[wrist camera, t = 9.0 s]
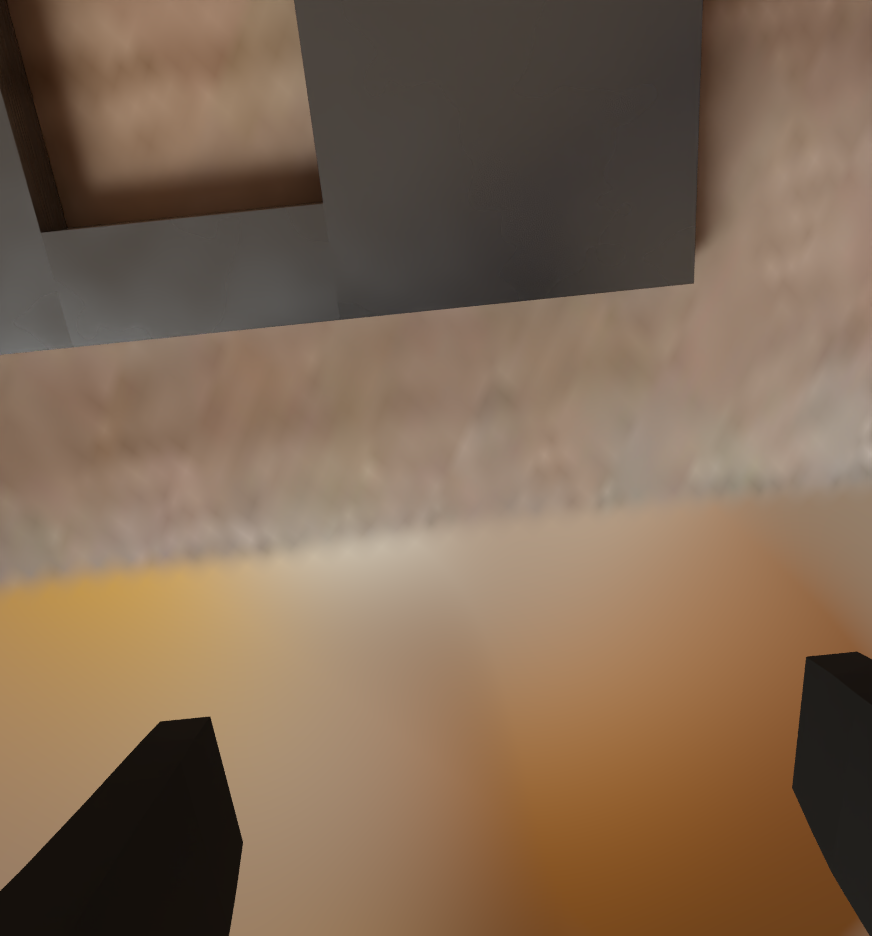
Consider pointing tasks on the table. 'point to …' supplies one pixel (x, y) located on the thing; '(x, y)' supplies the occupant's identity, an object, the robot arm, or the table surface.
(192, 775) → the robot arm
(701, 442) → the table surface
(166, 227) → the bracket
